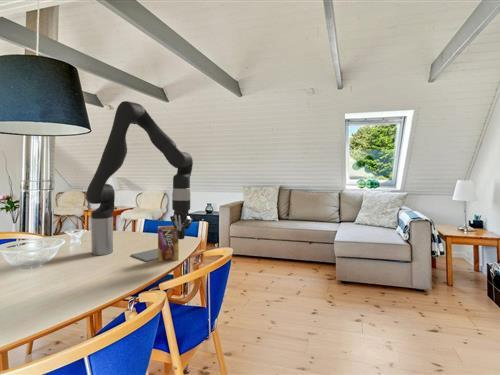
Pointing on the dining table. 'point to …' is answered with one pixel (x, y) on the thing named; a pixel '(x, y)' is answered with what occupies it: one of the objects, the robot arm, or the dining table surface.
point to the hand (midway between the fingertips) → (181, 238)
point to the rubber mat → (147, 255)
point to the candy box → (168, 243)
